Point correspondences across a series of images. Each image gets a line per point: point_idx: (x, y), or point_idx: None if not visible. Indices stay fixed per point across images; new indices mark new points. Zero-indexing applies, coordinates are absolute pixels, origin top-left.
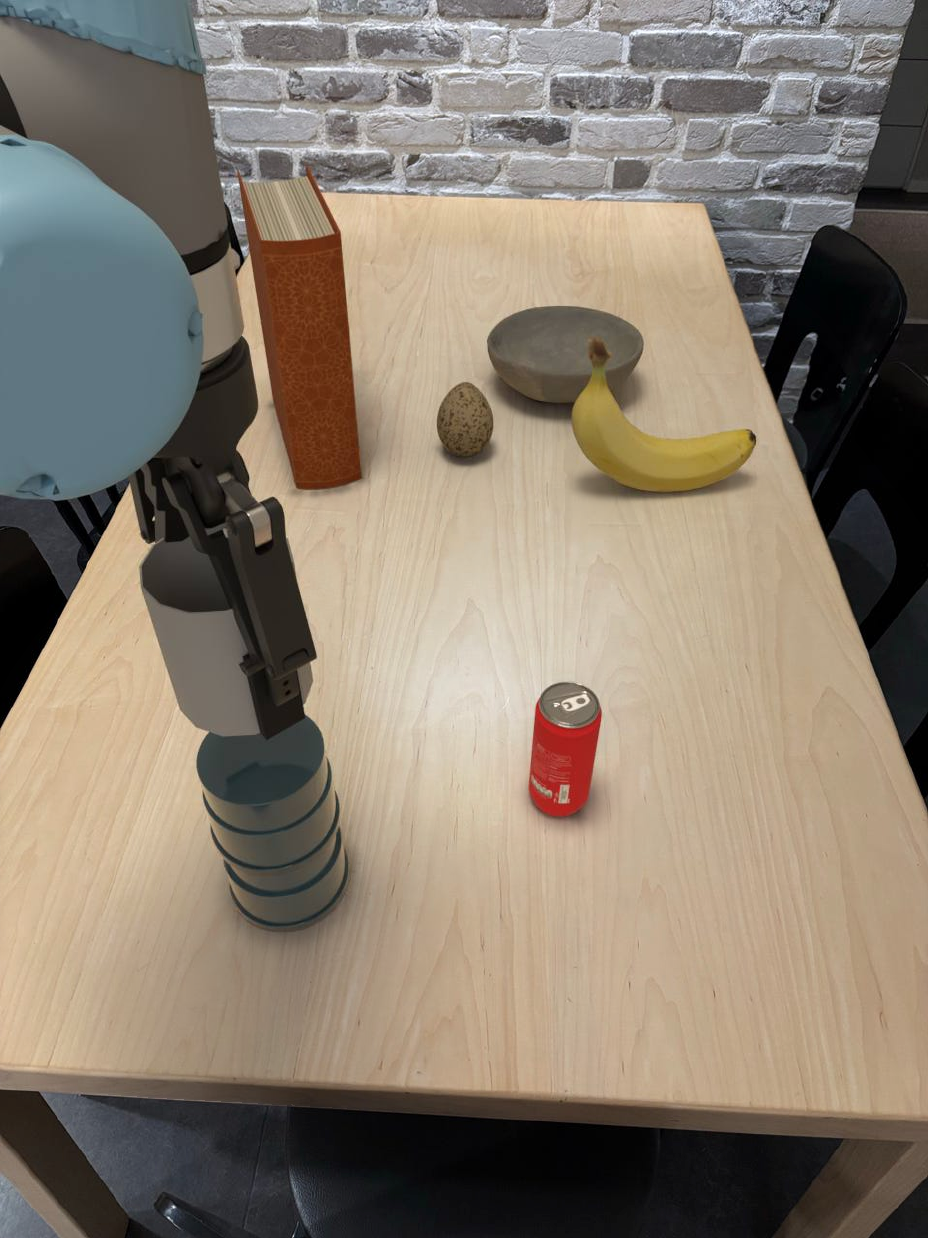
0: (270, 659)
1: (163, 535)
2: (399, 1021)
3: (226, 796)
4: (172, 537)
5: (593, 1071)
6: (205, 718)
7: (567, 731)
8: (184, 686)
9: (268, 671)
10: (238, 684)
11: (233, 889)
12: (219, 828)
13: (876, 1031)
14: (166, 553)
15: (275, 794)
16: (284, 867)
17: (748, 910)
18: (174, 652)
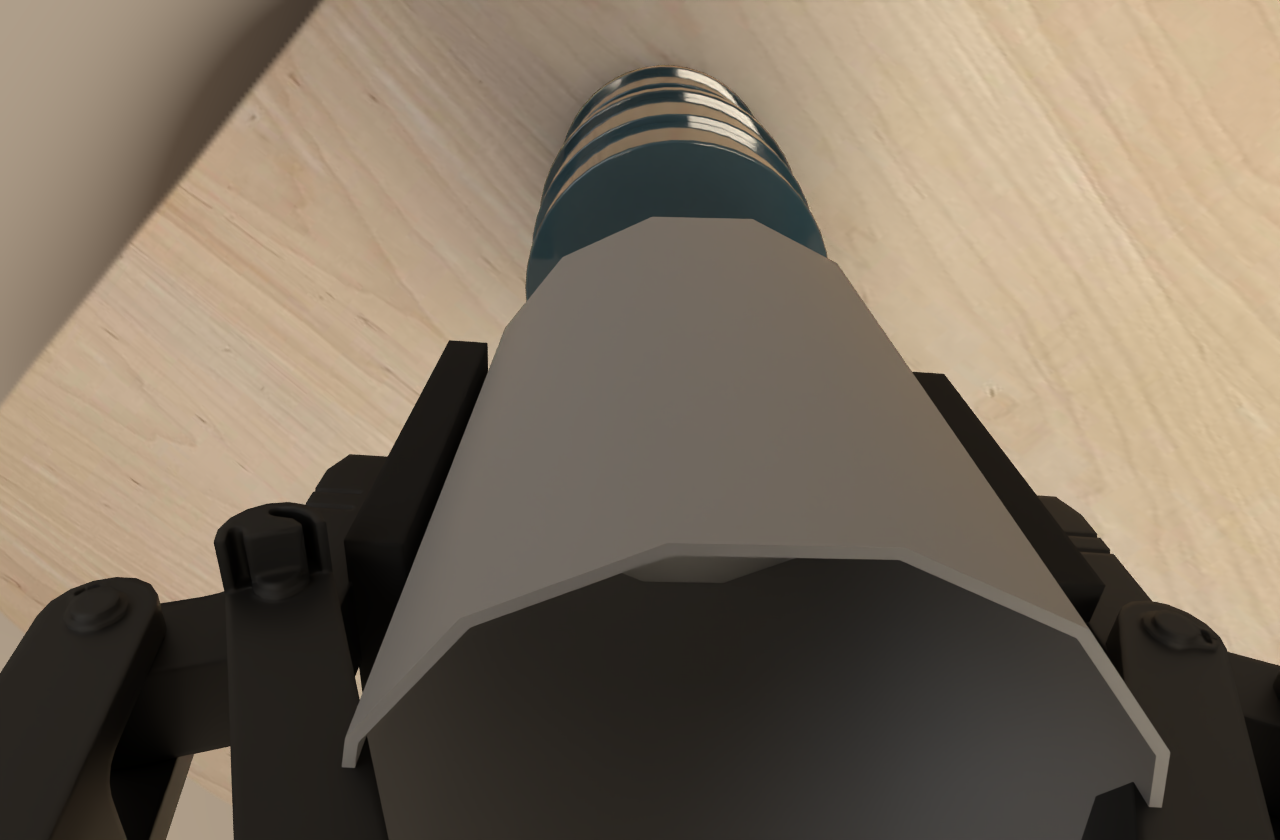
0: (30, 671)
1: (1162, 828)
2: (337, 148)
3: (625, 164)
4: (1120, 826)
5: (125, 302)
6: (604, 256)
7: None
8: (649, 283)
9: (101, 599)
10: (469, 428)
11: (680, 78)
12: (657, 112)
13: (3, 567)
14: (1099, 714)
15: (550, 253)
16: (552, 168)
17: (204, 586)
18: (650, 363)
